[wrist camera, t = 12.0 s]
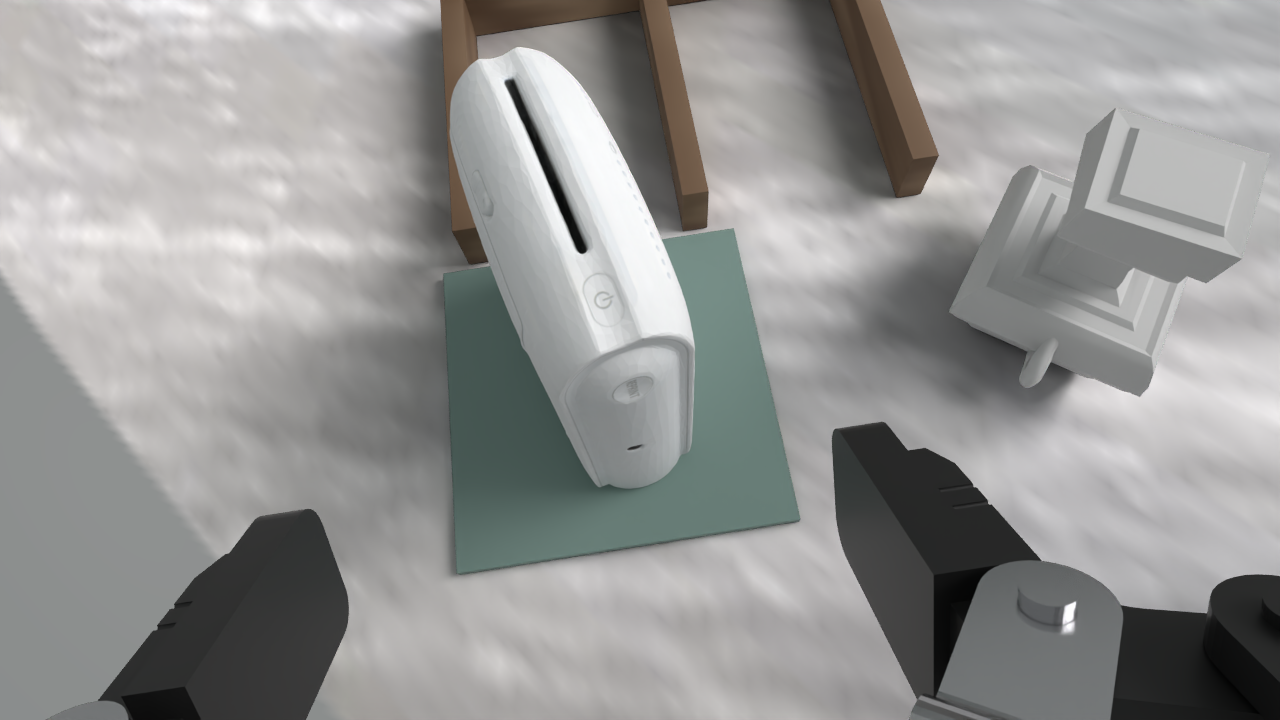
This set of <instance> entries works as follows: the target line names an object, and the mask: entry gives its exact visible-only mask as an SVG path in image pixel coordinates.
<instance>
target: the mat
mask: <svg viewBox="0 0 1280 720" xmlns="http://www.w3.org/2000/svg"><path fill="white" fill-rule="evenodd" d="M662 242H663V244H664V246H665V249H666V251H667V254H668V257H669V259H670V261H671V264H672V266H673V269H674V272H675V274H676V277H677V279H678V282H679V285H680V287H681V290H682V293H683V296H684V299H685V302H686V306H687V309H688V313H689V317H690V322H691V327H692V332H693V338H694V344H695V377H694V402H693V427H692V444H691V448H690V450H689V452H688V453H686V454H682V455H681V456H680V457H679V459H678V461H677V463H676V465H675V466H674V467H673V468H672V470H671V471H670V472H669V473H668V474H667V475H666V476H664V477H663V478H662V479H660V480H659V481H657V482H655V483H652V484H650V485H648V486H644V487H640V488H632V489H625V488H619V487H615V486H612V485H610V484H608V485H605V486H602V487H598V486H597V485H596V484H595V483H594V482H593V480H592V479H591V477H590V476H589V474H588V473H587V471H586V470H585V468H584V467H583V465H582V463H581V461H580V459H579V458H578V456H577V454H576V452H575V450H574V447H573V445H572V443H571V441H570V439H569V437H568V436H567V434H566V431H565V429H564V427H563V425H562V423H561V421H560V419H559V417H558V415H557V412H556V410H555V408H554V406H553V404H552V402H551V400H550V398H549V396H548V394H547V392H546V390H545V388H544V386H543V384H542V382H541V380H540V378H539V376H538V374H537V372H536V370H535V368H534V366H533V364H532V362H531V359H530V357H529V355H528V354H527V352H526V351H525V350H524V349H523V347H522V345H521V341H520V338H519V335H518V333H517V331H516V329H515V326H514V324H513V322H512V320H511V317H510V315H509V312H508V310H507V308H506V305H505V303H504V300H503V298H502V295H501V293H500V290H499V288H498V285H497V282H496V280H495V277H494V275H493V272H492V269H491V267H490V266H489V267H483V268H476V269H470V270H463V271H457V272H451V273H444V274H443V276H444V298H445V321H446V344H447V366H448V389H449V411H450V434H451V457H452V479H453V502H454V525H455V547H456V570H457V574H459V575H461V574H468V573H474V572H480V571H487V570H493V569H500V568H506V567H512V566H519V565H525V564H531V563H538V562H544V561H551V560H557V559H563V558H570V557H576V556H582V555H589V554H595V553H602V552H608V551H614V550H621V549H627V548H633V547H640V546H646V545H653V544H659V543H665V542H672V541H678V540H684V539H691V538H697V537H703V536H710V535H716V534H723V533H729V532H735V531H742V530H748V529H754V528H761V527H767V526H774V525H780V524H786V523H793V522H799V521H800V515H799V511H798V506H797V502H796V498H795V493H794V489H793V485H792V480H791V476H790V472H789V467H788V463H787V459H786V454H785V450H784V445H783V441H782V437H781V432H780V428H779V424H778V419H777V415H776V411H775V406H774V402H773V398H772V393H771V389H770V385H769V380H768V376H767V372H766V367H765V363H764V358H763V354H762V350H761V345H760V341H759V337H758V332H757V328H756V324H755V319H754V315H753V311H752V306H751V302H750V298H749V293H748V289H747V285H746V280H745V276H744V272H743V267H742V263H741V258H740V254H739V250H738V245H737V241H736V237H735V232H734V228H732V229H726V230H720V231H713V232H707V233H700V234H694V235H687V236H681V237H675V238H668V239H662Z"/></svg>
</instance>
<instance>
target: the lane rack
mask: <svg viewBox="0 0 1280 720" xmlns="http://www.w3.org/2000/svg"><path fill="white" fill-rule="evenodd" d="M697 1H703V0H440V2H441V22H442V42H443V61H444V81H445V101H446V120H447V140H448V160H449V179H450V199H451V218H452V232H453V234H454V236H455V238H456V240H457V241H458V243H459V245H460V247H461V249H462V251H463V253H464V255H465V257H466V258H467V260H468V262H469V264H475V263H482V262H488V259H487V256H486V254H485V251H484V248H483V245H482V242H481V239H480V237H479V234H478V231H477V228H476V225H475V223H474V220H473V217H472V214H471V211H470V208H469V205H468V202H467V198H466V195H465V192H464V189H463V186H462V183H461V180H460V177H459V173H458V169H457V165H456V161H455V158H454V154H453V150H452V145H451V140H450V106H451V98H452V94H453V91H454V88H455V86H456V84H457V82H458V80H459V79H460V77H461V76H462V75H463V73H464V72H465V71H466V69H467V68H468V67H469V66H470V65H471V64H473V63H474V62H475V61H476V60H478V51H477V38H476V36H478V35H485V34H491V33H497V32H504V31H510V30H517V29H523V28H530V27H536V26H542V25H549V24H555V23H562V22H568V21H574V20H581V19H587V18H594V17H600V16H607V15H613V14H619V13H626V12H632V11H639V10H640V15H641V20H642V25H643V30H644V35H645V40H646V45H647V50H648V55H649V60H650V65H651V70H652V75H653V80H654V85H655V90H656V96H657V101H658V106H659V111H660V116H661V121H662V126H663V131H664V136H665V141H666V146H667V151H668V156H669V161H670V166H671V171H672V176H673V182H674V187H675V192H676V197H677V202H678V207H679V212H680V217H681V222H682V227H683V231H686V230H693V229H699V228H706V227H707V215H708V187H707V182H706V178H705V173H704V169H703V164H702V160H701V155H700V150H699V146H698V141H697V137H696V132H695V128H694V123H693V118H692V114H691V109H690V105H689V100H688V96H687V91H686V87H685V82H684V77H683V73H682V68H681V64H680V59H679V55H678V50H677V45H676V41H675V36H674V32H673V27H672V23H671V18H670V13H669V9H668V6H671V5H677V4H684V3H690V2H697ZM830 3H831V6H832V9H833V12H834V15H835V18H836V21H837V24H838V27H839V30H840V32H841V35H842V38H843V41H844V44H845V47H846V50H847V53H848V56H849V59H850V62H851V65H852V68H853V71H854V74H855V77H856V79H857V82H858V85H859V88H860V91H861V94H862V97H863V100H864V103H865V106H866V109H867V112H868V115H869V118H870V121H871V124H872V126H873V129H874V132H875V135H876V138H877V141H878V144H879V147H880V150H881V153H882V156H883V159H884V162H885V165H886V168H887V171H888V173H889V176H890V179H891V182H892V185H893V188H894V191H895V194H896V197H897V198H898V197H904V196H911V195H917V194H921V192H922V190H923V188H924V185H925V183H926V181H927V179H928V177H929V175H930V173H931V171H932V169H933V167H934V164H935V162H936V160H937V158H938V156H939V154H938V152H937V149H936V146H935V144H934V141H933V138H932V136H931V133H930V131H929V128H928V125H927V123H926V120H925V117H924V115H923V112H922V109H921V107H920V104H919V101H918V99H917V96H916V93H915V91H914V88H913V86H912V83H911V80H910V78H909V75H908V72H907V70H906V67H905V64H904V62H903V59H902V56H901V54H900V51H899V49H898V46H897V43H896V41H895V38H894V35H893V33H892V30H891V27H890V25H889V22H888V19H887V17H886V14H885V11H884V9H883V6H882V4H881V1H880V0H830Z"/></svg>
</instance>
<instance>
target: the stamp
mask: <svg viewBox="0 0 1280 720" xmlns="http://www.w3.org/2000/svg"><path fill="white" fill-rule="evenodd" d="M1269 158H1270V154H1267V153H1264V152H1261V151H1257V150H1254V149H1251V148H1248V147H1244V146H1241V145H1238V144H1234V143H1231V142H1228V141H1225V140H1221V139H1218V138H1215V137H1212V136H1208V135H1205V134H1202V133H1198V132H1195V131H1192V130H1189V129H1185V128H1182V127H1179V126H1175V125H1172V124H1169V123H1166V122H1162V121H1159V120H1156V119H1153V118H1149V117H1146V116H1143V115H1139V114H1136V113H1133V112H1130V111H1126V110H1123V109H1120V108H1117V107H1116V108H1115V109H1114V110H1113V111H1112V112H1111V113H1109V114H1108V115H1107V116H1106V117H1105V118H1104V119H1103V120H1102V121H1100V122H1099V123H1098V124H1097V125H1096V126H1095V127H1094V128H1093V129H1091V130H1090V131H1089V132H1088V133H1087V134H1086V137H1085V141H1084V145H1083V149H1082V153H1081V157H1080V161H1079V165H1078V169H1077V173H1076V177H1075V181H1071V180H1068V179H1066V178H1063V177H1061V176H1058V175H1055V174H1053V173H1050V172H1047V171H1045V170H1042V169H1040V168H1037V167H1034V166H1031V165H1030V166H1027V167H1024V168H1021V169H1020V170H1019V171H1018V172H1017V173H1016V174H1015V175H1014V176H1013V177H1012V180H1011V182H1010V184H1009V186H1008V188H1007V190H1006V192H1005V194H1004V196H1003V199H1002V201H1001V203H1000V205H999V207H998V209H997V211H996V213H995V215H994V217H993V220H992V222H991V224H990V226H989V228H988V230H987V232H986V234H985V236H984V239H983V241H982V243H981V245H980V247H979V249H978V251H977V253H976V255H975V257H974V260H973V262H972V264H971V266H970V268H969V270H968V272H967V274H966V276H965V279H964V281H963V283H962V285H961V287H960V289H959V291H958V293H957V295H956V298H955V300H954V302H953V304H952V306H951V308H950V310H949V313H951V314H953V315H954V316H955V317H957V318H959V319H961V320H963V321H965V322H967V323H969V325H970V326H971V327H973V328H976V329H978V330H980V331H982V332H985V333H987V334H989V335H991V336H994V337H996V338H998V339H1000V340H1003V341H1005V342H1007V343H1009V344H1012V345H1014V346H1016V347H1018V348H1021V349H1023V350H1025V351H1027V355H1026V359H1025V362H1024V366H1023V368H1022V371H1021V374H1020V378H1019V381H1020V384H1021V385H1022V386H1023V387H1025V388H1031V387H1033V386H1034V385H1036V384H1037V383H1039V382H1040V381H1041V379H1042V377H1043V375H1044V374H1045V372H1046V370H1047V368H1048V366H1049V364H1050V362H1052V363H1054V364H1057V365H1059V366H1061V367H1063V368H1066V369H1068V370H1070V371H1072V372H1075V373H1077V374H1079V375H1081V376H1084V377H1086V378H1092V379H1096V380H1098V381H1100V382H1103V383H1105V384H1108V385H1110V386H1112V387H1115V388H1117V389H1119V390H1122V391H1125V392H1130V393H1132V394H1134V395H1137V396H1139V397H1140V396H1141V395H1142V393H1143V392H1144V391H1145V390H1146V389H1147V388H1148V387H1149V384H1150V381H1151V379H1152V376H1153V373H1154V370H1155V368H1156V365H1157V362H1158V359H1159V356H1160V353H1161V351H1162V348H1163V345H1164V342H1165V339H1166V337H1167V334H1168V331H1169V328H1170V325H1171V322H1172V320H1173V317H1174V314H1175V311H1176V308H1177V305H1178V303H1179V300H1180V297H1181V294H1182V291H1183V289H1184V286H1185V283H1186V280H1187V277H1191V278H1194V279H1196V280H1199V281H1201V282H1204V283H1207V282H1209V281H1210V280H1212V279H1213V278H1215V277H1216V276H1218V275H1219V274H1221V273H1222V272H1223V271H1225V270H1226V269H1228V268H1229V267H1231V266H1232V265H1234V264H1235V263H1237V262H1238V261H1240V260H1241V259H1242V258H1243V255H1244V251H1245V247H1246V243H1247V240H1248V236H1249V232H1250V228H1251V225H1252V221H1253V217H1254V214H1255V210H1256V206H1257V202H1258V199H1259V195H1260V191H1261V187H1262V184H1263V180H1264V176H1265V172H1266V169H1267V165H1268V161H1269Z"/></svg>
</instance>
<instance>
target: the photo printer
mask: <svg viewBox="0 0 1280 720" xmlns="http://www.w3.org/2000/svg"><path fill="white" fill-rule="evenodd" d="M450 140H451V145H452V150H453V154H454V158H455V161H456V165H457V169H458V173H459V177H460V180H461V183H462V186H463V189H464V192H465V195H466V198H467V202H468V205H469V208H470V211H471V214H472V217H473V220H474V223H475V225H476V228H477V231H478V234H479V237H480V239H481V242H482V245H483V248H484V251H485V254H486V256H487V259H488V261H489V264H490V267H491V269H492V272H493V275H494V277H495V280H496V282H497V285H498V288H499V290H500V293H501V295H502V298H503V300H504V303H505V305H506V308H507V310H508V312H509V315H510V317H511V320H512V322H513V324H514V326H515V329H516V331H517V333H518V335H519V338H520V341H521V345H522V347H523V349H524V350H525V351H526V352H527V354H528V355H529V357H530V359H531V362H532V364H533V366H534V368H535V370H536V372H537V374H538V376H539V378H540V380H541V382H542V384H543V386H544V388H545V390H546V392H547V394H548V396H549V398H550V400H551V402H552V404H553V406H554V408H555V410H556V412H557V415H558V417H559V419H560V421H561V423H562V425H563V427H564V429H565V431H566V434H567V436H568V437H569V439H570V441H571V443H572V445H573V447H574V450H575V452H576V454H577V456H578V458H579V459H580V461H581V463H582V465H583V467H584V468H585V470H586V471H587V473H588V474H589V476H590V477H591V479H592V480H593V482H594V483H595V484H596V485H597V486H598V487H602V486H605V485H608V484H610V485H612V486H615V487H619V488H625V489H632V488H640V487H644V486H648V485H650V484H652V483H655V482H657V481H659V480H660V479H662V478H663V477H664V476H666V475H667V474H668V473H669V472H670V471H671V470H672V468H673V467H674V466H675V465H676V463H677V461H678V459H679V457H680V456H681V455H682V454H686V453H688V452H689V450H690V448H691V444H692V427H693V402H694V377H695V344H694V338H693V332H692V327H691V322H690V317H689V313H688V309H687V306H686V302H685V299H684V296H683V293H682V290H681V287H680V285H679V282H678V279H677V277H676V274H675V272H674V269H673V266H672V264H671V261H670V259H669V257H668V254H667V251H666V249H665V246H664V244H663V242H662V239H661V237H660V235H659V232H658V230H657V227H656V225H655V223H654V220H653V218H652V216H651V214H650V212H649V210H648V207H647V205H646V203H645V201H644V199H643V196H642V194H641V192H640V190H639V188H638V186H637V184H636V182H635V180H634V177H633V176H632V174H631V172H630V170H629V167H628V165H627V163H626V161H625V159H624V157H623V156H622V154H621V152H620V150H619V148H618V146H617V144H616V142H615V140H614V138H613V137H612V135H611V133H610V131H609V129H608V127H607V126H606V124H605V122H604V120H603V118H602V117H601V115H600V113H599V112H598V110H597V108H596V107H595V105H594V103H593V102H592V100H591V99H590V97H589V96H588V94H587V93H586V92H585V90H584V89H583V87H582V86H581V85H580V84H579V82H578V81H577V80H576V79H575V78H574V77H573V76H572V75H571V74H570V73H569V72H568V71H567V70H566V69H565V68H564V67H563V66H562V65H560V64H559V63H558V62H557V61H556V60H554V59H553V58H552V57H550V56H548V55H547V54H545V53H543V52H540V51H537V50H534V49H530V48H523V47H516V48H514V49H512V50H510V51H509V52H507V53H506V54H504V55H502V56H499V57H497V58H491V59H478V60H476V61H475V62H474V63H473V64H471V65H470V66H469V67H468V68H467V69H466V71H465V72H464V73H463V75H462V76H461V77H460V79H459V80H458V82H457V84H456V86H455V88H454V91H453V94H452V98H451V106H450Z"/></svg>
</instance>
